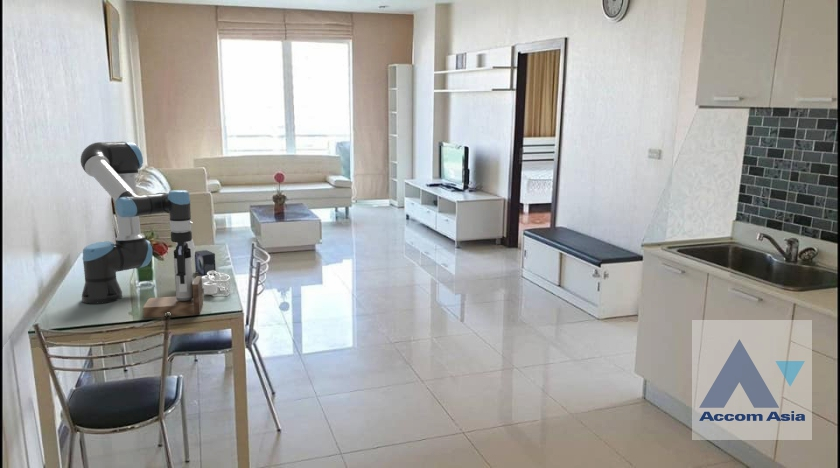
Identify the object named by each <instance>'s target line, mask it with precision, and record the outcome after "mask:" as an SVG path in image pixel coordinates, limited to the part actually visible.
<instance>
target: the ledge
mask: <svg viewBox="0 0 840 468" xmlns="http://www.w3.org/2000/svg"><path fill="white" fill-rule="evenodd" d="M202 276H203V275H196V277H195V278H194V280H193V284H192V286H193V299H191V300H188V301H178V300H177V299H176V296H159V297H149V298H148V299H147V301H146V302H145V304H144V305H143V306H142V310H143V311H142V313H143V318H163V317H164V316H165V313H167V312H170V313H171V316H170V317H181V316H198V315H199V316H200V314H201V312H202V309H203V306H204V297H203V295H204V291H203V287H202Z"/></svg>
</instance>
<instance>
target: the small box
mask: <svg viewBox="0 0 840 468" xmlns="http://www.w3.org/2000/svg"><path fill="white" fill-rule="evenodd" d="M194 266H195V273H198V274H199V275H200V276H206V275H207V272H209V271H216V272H217V269H216V253H215V252H212V251H210V250H207V249H203V250H197V251H196V250H195V256H194ZM209 275H212V274H209Z"/></svg>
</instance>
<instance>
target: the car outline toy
mask: <svg viewBox="0 0 840 468" xmlns="http://www.w3.org/2000/svg"><path fill="white" fill-rule="evenodd" d="M209 274H211V275H209ZM201 276H202V290H203V295H211V296H212V297H214V298H216V297H228V296H230V295H231V294H232V293H231V276H230V275H229V274H227V273H223V272H217V270H216V271H209V272H207V275H206V276H203V275H201ZM215 276H218V279H217V280H215V279H216V278H215ZM223 279H226V280H223ZM223 284H224V286H223ZM218 289H219V290H218ZM219 291H220V292H225V294H218V292H219Z"/></svg>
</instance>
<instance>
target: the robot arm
mask: <svg viewBox="0 0 840 468" xmlns="http://www.w3.org/2000/svg"><path fill="white" fill-rule="evenodd" d="M143 163H144V156H143V154H142V151H141V149H140V148H139V146H138V145H137V144H136V143H134V142H132V141H111V142H108V141H107V142H106V141H105V142H104V141H103V142H102V141H101V142H93V143H91V144H89V145H88V146H86V147H85V148H84V149H83V151H82V152H81V155H80V164H81V168H82V170H83V171H84V172H85V173H86V174H87V175H88V176H90V177H93V178H94V179H95V180H96V181H97V183H99V184H100V186H101V187H102V189H104V191H106V192H107V194H108V195H109V196H110V197H111V198H112V199H113V200H114V201H115V202H114V208H115V209H114V210H115V212H116V220H117V230H118V231H117V232H118V235H117V237H116V238H115V239H114V240H115V243H114V242H113V241H109V240H108V241H107V240H106V241H105V240H104V241H99V242H94V243H91V244H89V245H86V246H85V247H84V248H83V250H82V261H83V271H84V273H83V274H84V286H83V290H82V293H81V301H82V303H85V304H90V305H91V304H93V305H94V304H97V305H98V304H105V303H107V304H108V303H113V302H115V301H118V300H120V299H122V298H123V290H122V289H121V285H120V284H119V282H118V280H117V273H118V272H123V271H128V270H134V269H136V270H138V269H140V268H144V267H147V266H148V265H149V264H150V262H151V261H152V257H153V247H152V244H151V242H150V241H149V240H148V239H146V236H145V235H144V234H143V233H142V231H141V223H140V217H141V216H151V215H159V214H169V229H170V230H169V231H171V232H170V241H171V242H172V243H176V242H177V243H178V245H177V247H176V246H175V247H176V253H177V271H178V273H177V274H176V276H179V292H187V280H186V273H185V257H186V255H185V256H184V252H187V250H188V243H186V242H188V241H191V240H192V239H193V232H192V225H193V224H194V223H193V221H192V215H191V213H192V211H191V198H190V197H191V196H190V192H189V191H188V190H186V189H174V190H170V191H168V193H167V192H157V193H153V194H145V195H144V194H143V195H138V193H137V187H136V186H137V184H136V176H137V175H138V174H139V170H140V169H141V168H142V167H143Z"/></svg>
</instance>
